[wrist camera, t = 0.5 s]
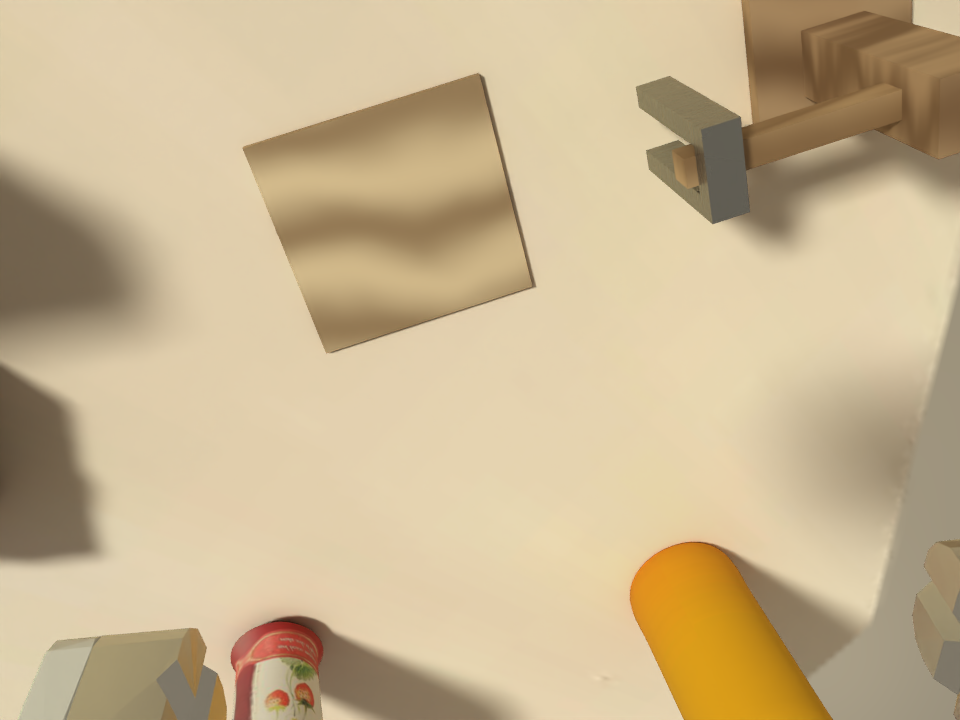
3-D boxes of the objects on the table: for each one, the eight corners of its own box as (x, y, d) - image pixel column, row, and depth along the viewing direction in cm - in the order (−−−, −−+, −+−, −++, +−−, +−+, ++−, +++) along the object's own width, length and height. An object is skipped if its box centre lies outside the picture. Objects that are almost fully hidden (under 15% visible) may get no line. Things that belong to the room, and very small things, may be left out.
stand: (600, 34, 52) (698, 90, 40) (901, -60, 52) (1086, -33, 40) (628, 193, 57) (721, 285, 45) (901, 105, 58) (1065, 172, 46)
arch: (635, 86, 50) (700, 129, 43) (669, 76, 50) (740, 116, 43) (649, 169, 53) (712, 224, 45) (681, 159, 53) (750, 212, 45)
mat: (243, 146, 51) (242, 148, 50) (478, 73, 51) (479, 74, 51) (326, 350, 58) (326, 353, 58) (531, 284, 59) (532, 286, 58)
